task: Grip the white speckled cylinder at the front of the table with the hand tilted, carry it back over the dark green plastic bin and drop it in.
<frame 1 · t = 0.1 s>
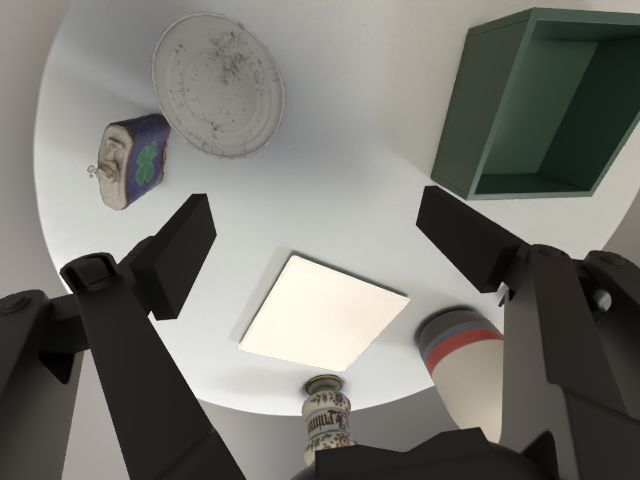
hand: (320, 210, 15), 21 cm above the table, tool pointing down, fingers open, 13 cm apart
flask: (156, 150, 31), on the table
bin: (506, 114, 34), on the table
white speckled cylinder: (244, 93, 29), on the table
white flat square slab: (321, 317, 51), on the table
apothecary jar: (323, 384, 65), on the table
vase: (446, 327, 58), on the table
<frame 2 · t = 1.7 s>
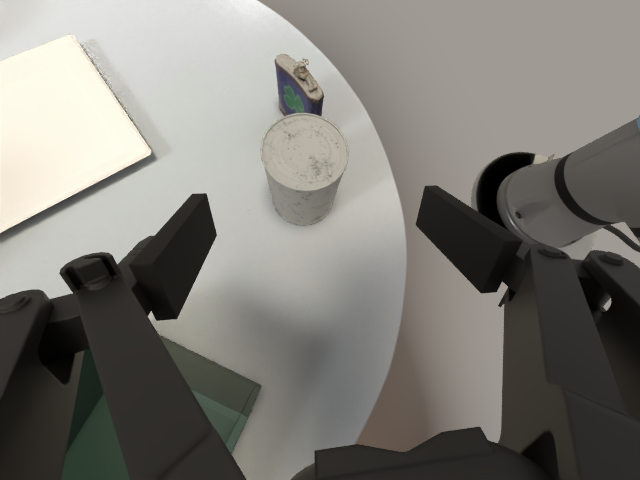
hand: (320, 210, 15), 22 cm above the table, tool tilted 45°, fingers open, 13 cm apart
flask: (300, 122, 42), on the table
bin: (161, 427, 30), on the table
white speckled cylinder: (303, 196, 39), on the table
white flat square slab: (36, 139, 37), on the table
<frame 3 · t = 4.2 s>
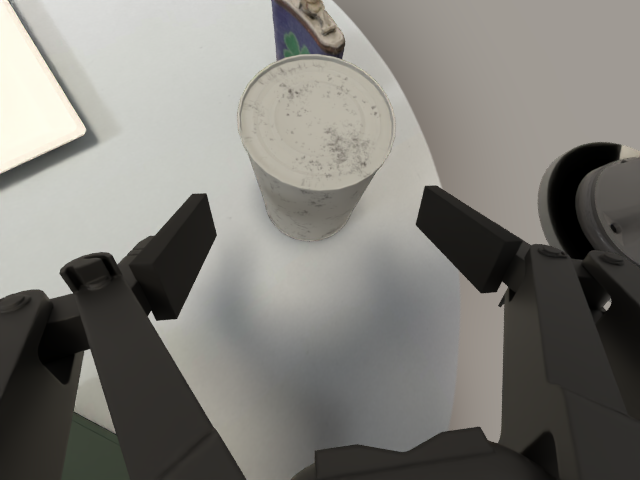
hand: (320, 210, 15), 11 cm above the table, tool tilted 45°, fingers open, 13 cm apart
flask: (306, 95, 30), on the table
white speckled cylinder: (309, 199, 27), on the table
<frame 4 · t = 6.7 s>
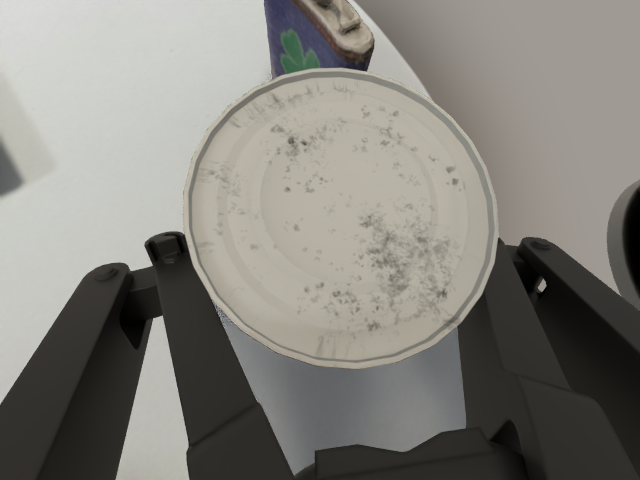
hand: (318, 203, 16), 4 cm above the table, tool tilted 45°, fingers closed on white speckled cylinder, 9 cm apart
flask: (310, 114, 23), on the table
white speckled cylinder: (317, 260, 19), on the table, touching gripper
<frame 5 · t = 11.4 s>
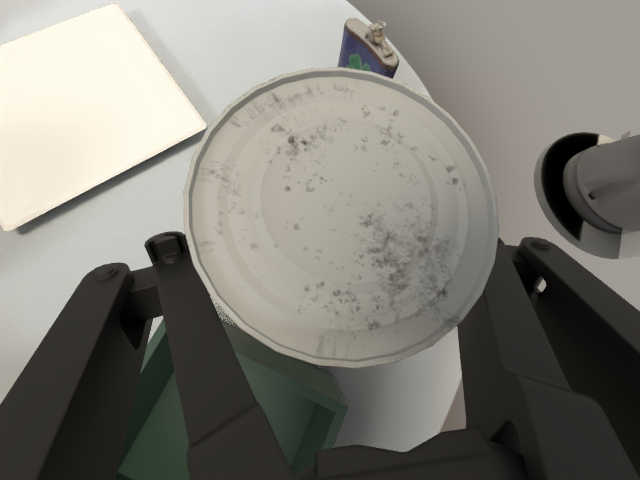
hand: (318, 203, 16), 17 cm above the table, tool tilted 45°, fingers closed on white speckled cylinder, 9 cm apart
flask: (356, 98, 39), on the table
bin: (230, 420, 27), on the table
white speckled cylinder: (317, 259, 19), point 13 cm above the table, touching gripper
white flat square slab: (81, 112, 35), on the table
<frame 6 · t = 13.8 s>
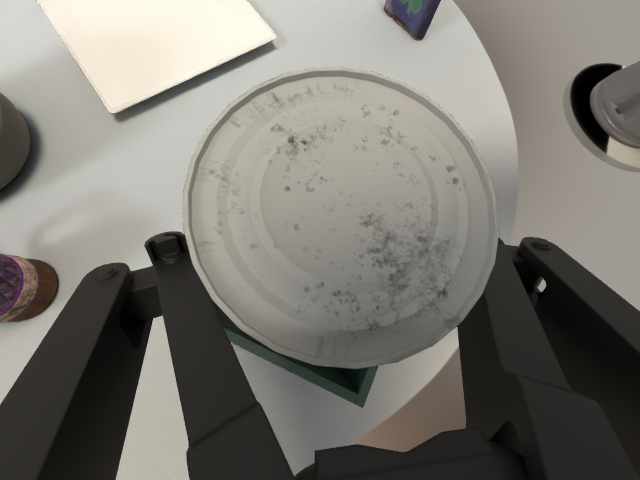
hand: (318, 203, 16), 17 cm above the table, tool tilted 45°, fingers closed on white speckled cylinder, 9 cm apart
mug: (21, 279, 29), on the table
flask: (403, 23, 43), on the table
bin: (309, 275, 31), on the table
white speckled cylinder: (317, 260, 19), point 12 cm above the table, touching gripper
white flat square slab: (162, 26, 39), on the table
when the fingers open (11 cm above the table, at t = 16.0 s): white speckled cylinder drops 6 cm, resting on bin.
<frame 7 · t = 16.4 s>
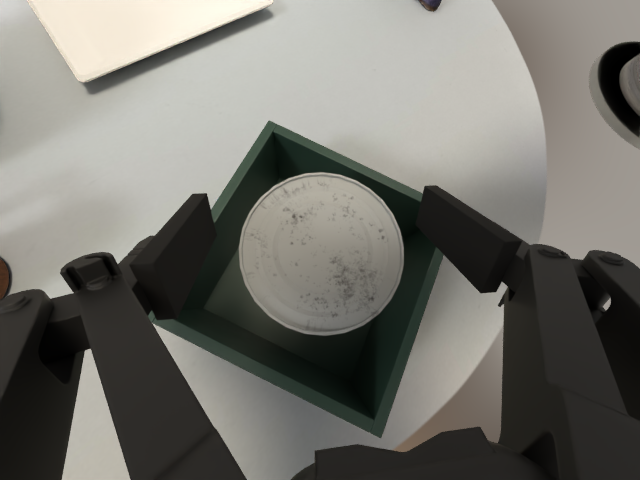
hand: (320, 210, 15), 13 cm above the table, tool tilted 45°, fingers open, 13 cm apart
bin: (311, 271, 27), on the table
white speckled cylinder: (311, 271, 26), point 1 cm above the table, touching bin
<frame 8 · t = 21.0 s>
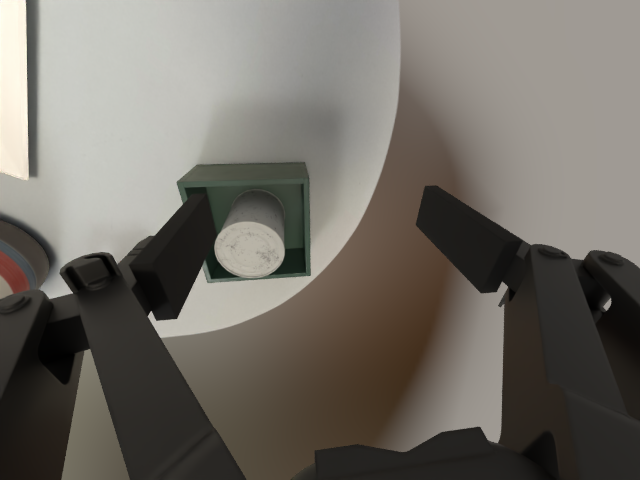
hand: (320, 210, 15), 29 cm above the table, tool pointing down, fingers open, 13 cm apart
bin: (258, 211, 45), on the table
white speckled cylinder: (258, 213, 45), point 1 cm above the table, touching bin
vase: (3, 248, 43), on the table
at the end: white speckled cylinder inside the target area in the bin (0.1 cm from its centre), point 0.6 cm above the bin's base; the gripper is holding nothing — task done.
